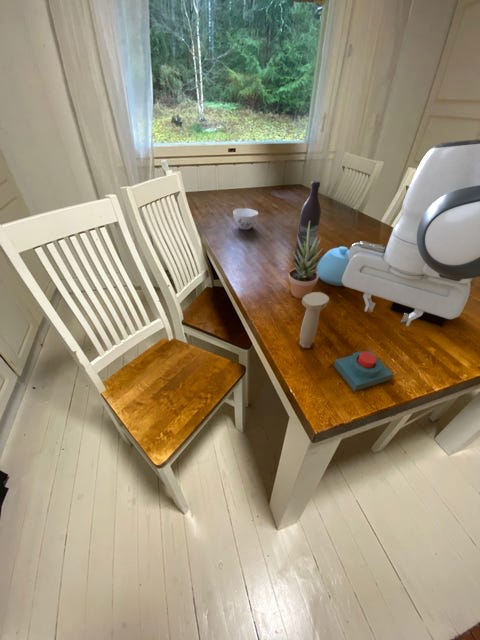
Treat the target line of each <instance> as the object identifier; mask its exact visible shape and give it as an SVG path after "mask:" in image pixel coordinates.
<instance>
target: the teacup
mask: <svg viewBox="0 0 480 640" xmlns="http://www.w3.org/2000/svg"><path fill="white" fill-rule="evenodd" d="M232 216H233V221H234V222H235V224H236V226H237V227H238V228H239V229H241V230H251V228H252V227H253V226H254V225H255V224H256V222H257V220H258V217H259V212H258V210H256V209H252V208H241V207H240V208H235V209H234V210H233V211H232Z"/></svg>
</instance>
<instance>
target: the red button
mask: <svg viewBox="0 0 480 640" xmlns="http://www.w3.org/2000/svg"><path fill="white" fill-rule="evenodd" d="M373 354H374V353H373ZM373 354H371V353H368V352H367V351H362V353H361V354H360V355H359V358H358V363H359V365H360V366H362V367H364V368H372V367H374V365H375V362H376V357H377V356H376V355H375V354H374V355H375V356H376V357H375V356H374V355H373Z"/></svg>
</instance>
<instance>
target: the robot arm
mask: <svg viewBox="0 0 480 640" xmlns="http://www.w3.org/2000/svg"><path fill="white" fill-rule="evenodd" d="M400 214H401V215H400V217H399V219H398V221H397V222H396V224H395V225H394V227H393V228H392V231H391V234H390V236H389V238H388V242H387V244H386V245H383V244H379V243H371V242H369V241H366V240H360V242H355V243H353V244H352V245H351V246H350V247H349V250H350V251H349V254H348V258H349V261H350V262H349V263H348V265H347V267H346V270H345V272H344V275H343V277H342V283H343V285H344V286H343V287H345V288H348V289H352V290H355V291H358V292H362V293H363V295H362V298H363V300H364V305H365V307H364V309H363V311H364V312H365V313H368V314H372V313H373V312H374V309H375V307H376V304H377V303H376V302H373V300H372V296H374V297H377V298H380V299H384V300H387V301H391V302H392V303H393V302H396V303H399V304H402V305H406V306H409V307H412V308H415V310H414V312H412V313H410V314H407V313H405V314H403V316H402V318H401V320H400V323H399V324H400V325H404V326H405V327H409V326H410V324H411V322H412V321H414V320H415V319H418V317H420V316H422V314H423V312H424V311H425V312H428V313H431V314H434V315H437V316H440V317H444V318H446V319H447V320H453V319H456V318H459V317H460V315H461V314H462V312H463V310H464V308H465V307H466V305H467V302H468V299H469V297H470V293H471V281H472V280H473V279H475V278H479V277H480V138H477V139H469V140H456V141H448V142H447V141H446V142H442V143H439V144H436V145H434V146H433V147H432V148H430V149H429V150H427V152H426V154H425V155H424V156H423V157H422V159H421V161H420V163H419V165H418V166H417V168H416V170H415V173H414V174H413V177H412V179H411V182H410V183H409V186H408V188H407V191H406V193H405V196H404V199H403V201H402V204H401V212H400Z"/></svg>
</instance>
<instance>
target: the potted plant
mask: <svg viewBox="0 0 480 640" xmlns="http://www.w3.org/2000/svg"><path fill="white" fill-rule="evenodd" d="M318 238H319V237H318V235H317V237H316V240H315V241H314V244H313V245H312V247H311V249H310V243H311V239H310V221H309V224H308V231H307V244H306V241H305V242H304V248H303V246H302V244H301V242H300V240H299V237H298V236H296V240H297V239H298V243H299V246H300V249H301V252H302V254H303V256H302V255H301V254H300V252H299V250H298V249H297V254H298V257H299V259H300V261H301V262H300V261H299V259H298V258H297V256H296V254H295V250H292V254H293V257H294V256H295V258H296V260H297V261H298V263H299V265H300V266H298V265H297V264H296V263H295V262H294V261H293V264H294V263H295V264H294V265H295V266H296V267H294V268H293V269H291V270H289V271H288V281H289V284H290V288H291V289H290V291H291V295H292V296H293V297H294V298H298V299H303V297H304V296H305V295H307V294H309V293H312V291H313V289H314V287H315V285H316V284H317V283H318V281H319V279H320V278H319V276H318V273H317V272H316V271H318V270H317V269H318V268H317V265H318V263H319V262H320V260H321V258H322V257H323V256H324V255H325V254H324V253H321V252H322V251H323V247H321V249H320V250H319V246H320V243H321V241H322V237H320V238H319V239H318ZM318 250H319V251H318ZM320 254H321V255H320ZM319 255H320V256H319ZM315 267H316V268H317V269H316V268H315ZM314 268H315V269H314Z"/></svg>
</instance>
